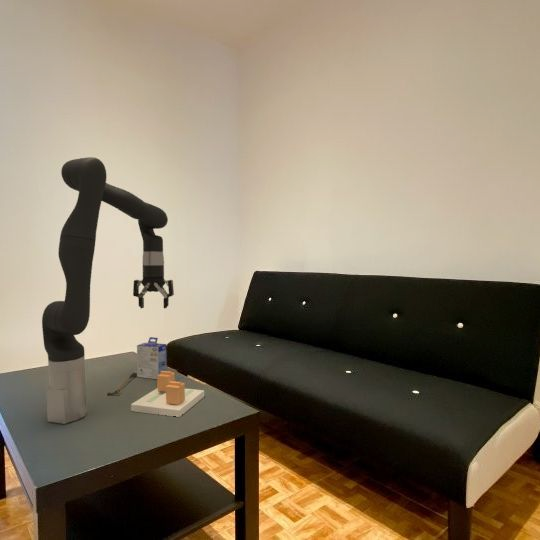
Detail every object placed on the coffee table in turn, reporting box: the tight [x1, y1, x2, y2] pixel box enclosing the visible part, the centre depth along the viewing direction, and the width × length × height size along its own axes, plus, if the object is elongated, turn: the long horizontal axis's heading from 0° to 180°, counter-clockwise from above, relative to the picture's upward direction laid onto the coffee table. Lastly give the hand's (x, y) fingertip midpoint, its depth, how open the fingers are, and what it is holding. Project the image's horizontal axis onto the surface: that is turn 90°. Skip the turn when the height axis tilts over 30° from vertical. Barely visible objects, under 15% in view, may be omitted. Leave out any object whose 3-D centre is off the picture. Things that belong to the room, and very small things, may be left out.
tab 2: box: [166, 381, 186, 404], centre depth 117 cm, size 4×4×6 cm
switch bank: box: [130, 387, 205, 418], centre depth 121 cm, size 16×16×2 cm
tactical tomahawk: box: [106, 372, 137, 397], centre depth 138 cm, size 21×7×1 cm, turn 177°
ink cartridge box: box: [136, 336, 168, 380], centre depth 147 cm, size 10×6×14 cm, turn 71°
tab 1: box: [156, 371, 176, 392], centre depth 127 cm, size 4×4×6 cm
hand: (153, 308), depth 144 cm, fingers open, 8 cm apart
